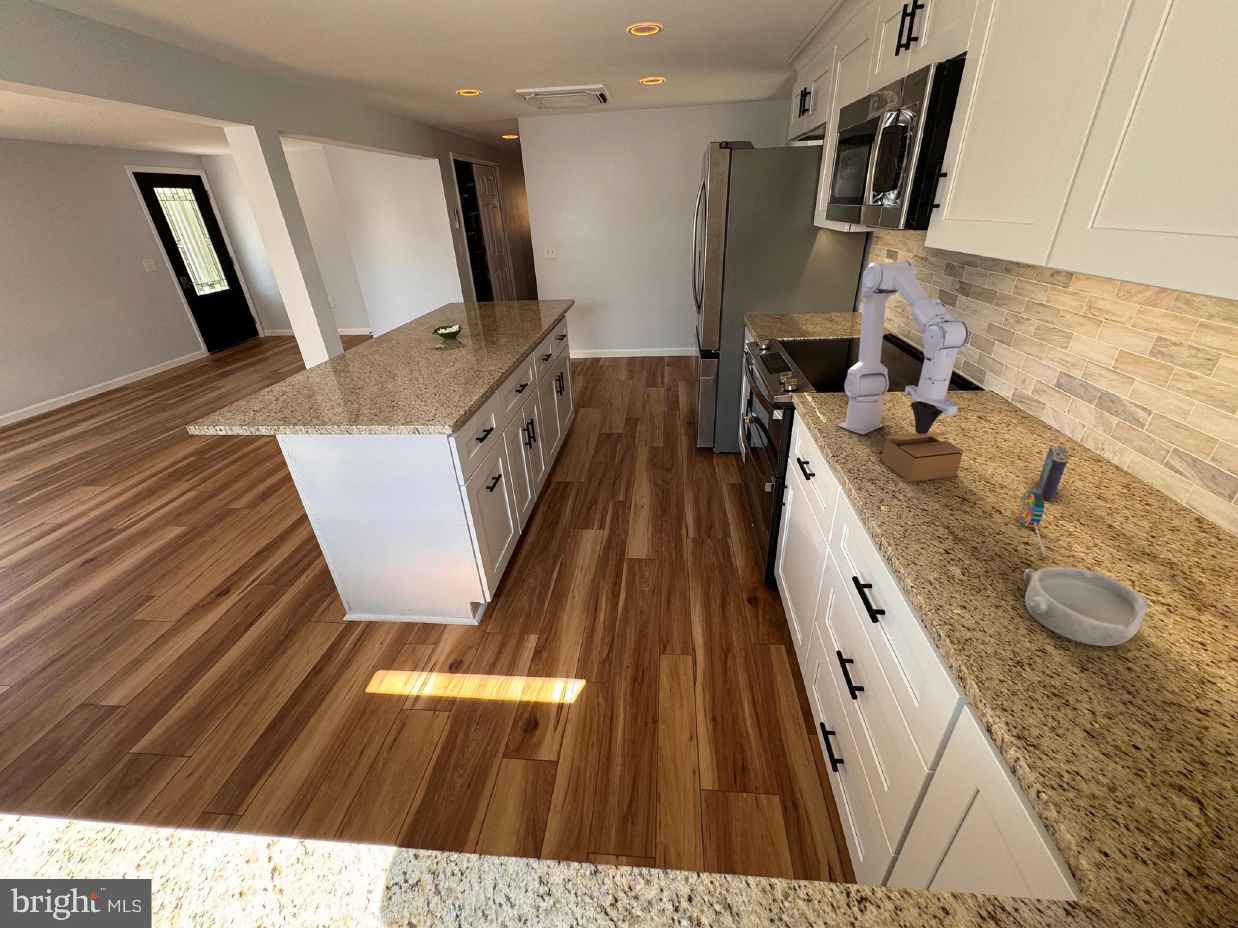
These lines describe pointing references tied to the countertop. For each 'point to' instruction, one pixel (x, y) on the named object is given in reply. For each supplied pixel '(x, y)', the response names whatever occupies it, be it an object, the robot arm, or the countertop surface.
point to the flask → (1052, 471)
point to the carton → (922, 458)
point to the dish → (1084, 605)
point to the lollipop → (1031, 510)
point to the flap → (915, 435)
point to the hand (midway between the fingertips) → (921, 432)
